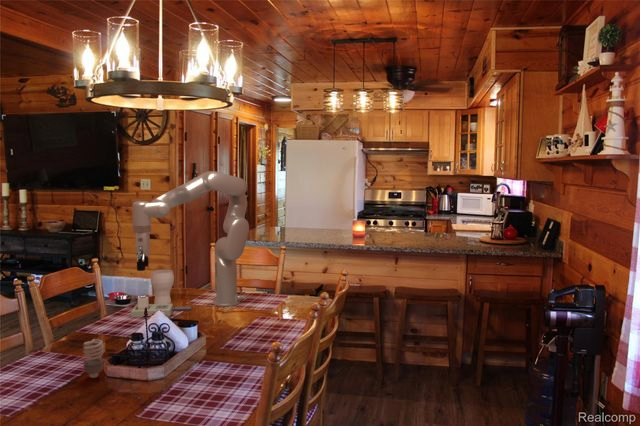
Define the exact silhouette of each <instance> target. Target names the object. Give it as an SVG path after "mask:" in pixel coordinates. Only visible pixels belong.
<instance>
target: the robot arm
mask: <svg viewBox="0 0 640 426" xmlns="http://www.w3.org/2000/svg"><path fill="white" fill-rule="evenodd" d="M210 191H215V192H219V193H223V194H226V195H227V198H228V206H227V210H226V214H225V217H224V220H223V224H222V229H223V231H224V233H226V234H227V236H223V237H220V238H219V239H218V240H217V241H216V243H215V244H214V255H215V256H214V257H215V266H216V268H215V269H216V270H215V275H216V276H215V277H216V279H215V285H216V286H215V288H216V289H215V291H216V298H215V299H213V300H212V304H213V305H214V306H217V307H232V306H237V305H239V304H240V303H241V302H240V300H247V295H245V294H238V292H237V288H238V287H237V274H238V272H237V269H238V268H237V267H238V265H237V260H238V259H240V258H241V257H242V255H243V252H244V251H245V247H246V244H247V240H248V236H249V232H250V224H249V221H248V220H247V218H245V215H246V213H247V207H248V200H247V199H248V198H247V195H246V192H247V191H248V183H247V181H246V180H244V179H243V178H241V177H238V176H235V175H230V174H227V173H222V172H219V171H212V170H211V171H205V172H203V173H201V174H199V175H198V176H195V177H194V178H192V179H191V180H189V181H187V182H185V183H183V184H181V185H179V186H177V187H175V188H173V189H171V190H169V191H167V192H165V193H163V194H161V195H160V196H158V197H155V198H154V199H153V200H151V201H148V200H147V201H146V200H137V201H134V202H132V206H131V207H132V234H134V235H135V257H137V258H136V271H137V272H142V271H143V272H145V270H146V268H147V267H149V266H150V265H149V264H150V263H149V255H151V239H150V238H151V237H150V234H151V233H152V218H156V219H157V218H158V219H162V218H165V217H168V216H169V214H170V212H171V209H173V208H175V207H177V206H180V205H184V204H188V203H191V202H194V201H195V200H197V199H199V198H200V197H202V196H204V195H205V194H207V193H209V192H210Z"/></svg>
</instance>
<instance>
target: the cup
mask: <svg viewBox="0 0 640 426" xmlns="http://www.w3.org/2000/svg"><path fill="white" fill-rule="evenodd" d="M174 281H175V275H174V271H173V270H172V269H156V270H153V271H151V273H150V284H151V286H152V289H153V291H154V301H153V304H171V303H172V300H171V290H172V287H173V285H174Z"/></svg>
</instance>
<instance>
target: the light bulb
mask: <svg viewBox="0 0 640 426" xmlns="http://www.w3.org/2000/svg"><path fill="white" fill-rule="evenodd" d="M82 348H83V351H82V352H83V357H85V358H86V359H85V361H84V363H83V368H84V372H85V373H86V374H89V376H88V377H90V378H91V379H96V378H98V377H99V373H100V372H102V371H103V369H104V360H103V359H102V357H103V356H104V355H103V354H104V343H103V340H101V339H100V338H99V339H98V338H93V339H92V340H91V341H85V342H83V346H82Z"/></svg>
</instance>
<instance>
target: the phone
mask: <svg viewBox="0 0 640 426" xmlns="http://www.w3.org/2000/svg"><path fill="white" fill-rule="evenodd" d="M192 310H193V306H173V310H172V312H183V311H185V312H188V311H192Z"/></svg>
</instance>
